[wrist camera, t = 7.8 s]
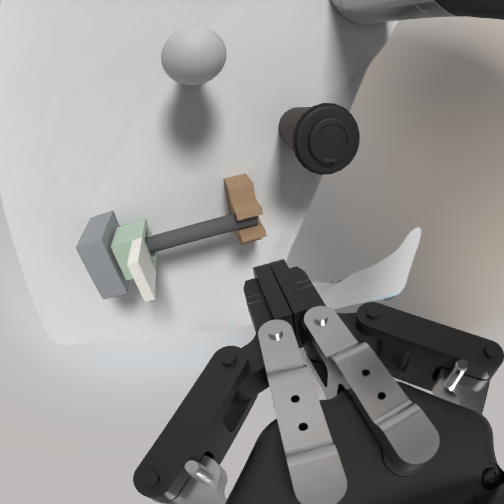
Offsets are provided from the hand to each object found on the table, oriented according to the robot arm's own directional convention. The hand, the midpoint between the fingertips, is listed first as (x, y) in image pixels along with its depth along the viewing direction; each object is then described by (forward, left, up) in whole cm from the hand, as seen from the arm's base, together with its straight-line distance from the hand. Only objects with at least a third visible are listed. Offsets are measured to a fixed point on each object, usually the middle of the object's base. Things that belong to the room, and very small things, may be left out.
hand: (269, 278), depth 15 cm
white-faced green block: (+12, +8, -24) cm, 28 cm away
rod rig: (+7, +8, -27) cm, 29 cm away
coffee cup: (-12, -1, -27) cm, 30 cm away
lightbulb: (0, -12, -27) cm, 30 cm away
